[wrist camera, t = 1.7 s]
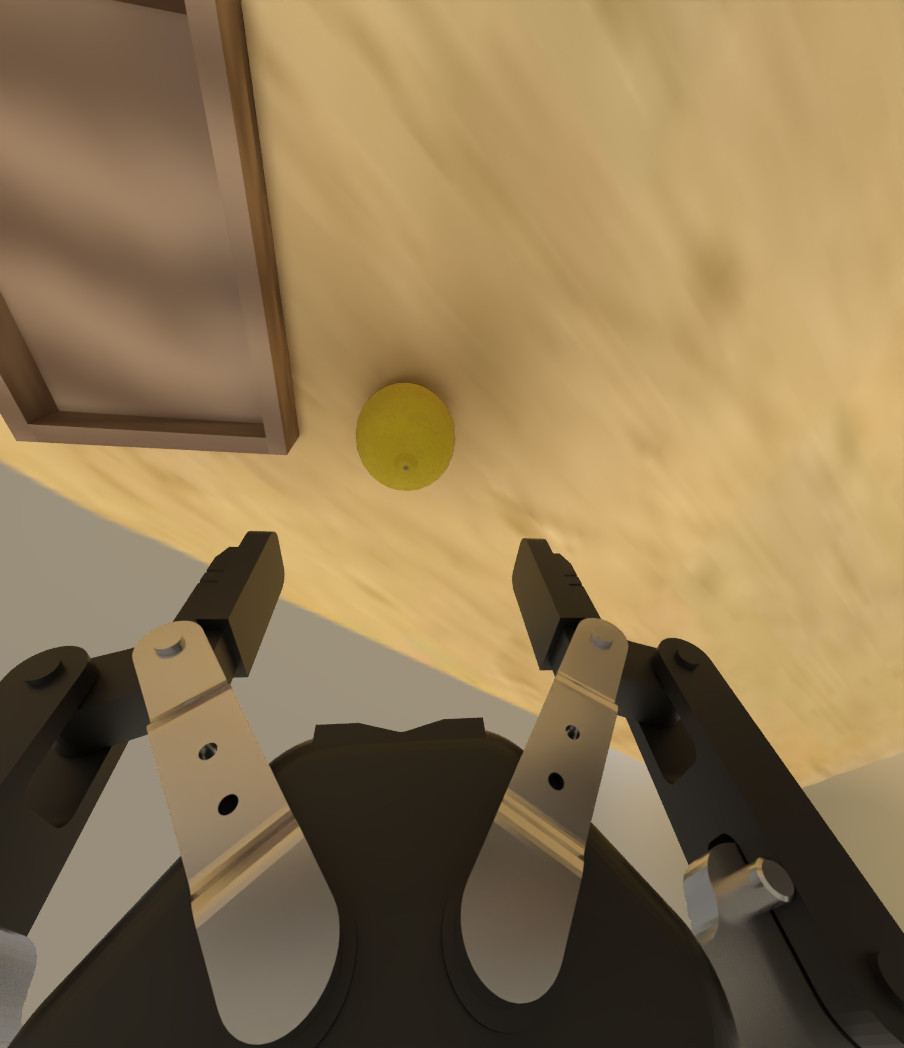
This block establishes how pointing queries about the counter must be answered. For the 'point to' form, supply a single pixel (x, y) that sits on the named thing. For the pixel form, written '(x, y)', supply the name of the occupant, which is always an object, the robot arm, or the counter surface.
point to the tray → (136, 231)
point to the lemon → (405, 436)
